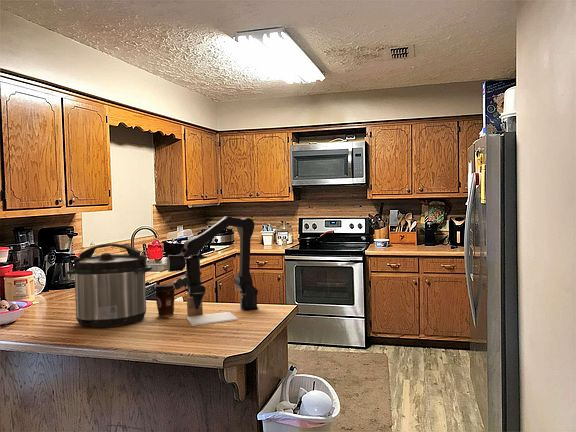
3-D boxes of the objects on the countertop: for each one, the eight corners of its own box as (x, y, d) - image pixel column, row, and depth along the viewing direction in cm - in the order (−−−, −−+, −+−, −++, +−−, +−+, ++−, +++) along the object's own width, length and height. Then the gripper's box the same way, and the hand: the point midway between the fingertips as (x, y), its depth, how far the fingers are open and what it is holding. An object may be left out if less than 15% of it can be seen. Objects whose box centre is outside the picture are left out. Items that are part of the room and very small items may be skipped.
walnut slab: (201, 314, 200) (201, 295, 200) (202, 315, 198) (202, 296, 198) (187, 316, 198) (186, 297, 198) (188, 317, 196) (187, 298, 196)
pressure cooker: (165, 315, 203) (161, 240, 202) (116, 332, 177) (112, 247, 176) (111, 311, 215) (108, 241, 214) (58, 327, 189) (54, 247, 188)
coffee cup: (155, 318, 197) (153, 287, 196) (155, 314, 205) (153, 284, 204) (176, 316, 199) (175, 285, 199) (176, 312, 207) (174, 282, 207)
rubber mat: (229, 313, 201) (229, 311, 201) (237, 320, 188) (237, 318, 188) (186, 318, 195) (186, 316, 195) (191, 326, 182) (191, 324, 182)
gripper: (170, 268, 204) (172, 305, 204) (176, 274, 186) (178, 313, 187) (196, 266, 208) (198, 302, 208) (205, 271, 190) (206, 310, 191)
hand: (195, 307), depth 198 cm, fingers open, 9 cm apart
